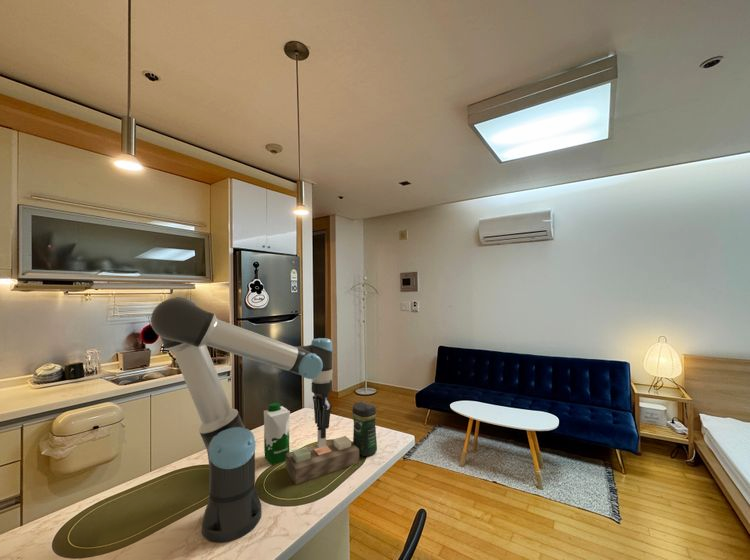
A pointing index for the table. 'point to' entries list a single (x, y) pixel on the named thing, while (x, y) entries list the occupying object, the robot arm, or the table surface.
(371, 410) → the coffee jar
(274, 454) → the milk carton
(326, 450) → the terracotta button
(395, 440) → the table surface
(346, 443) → the cream button
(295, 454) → the sage button
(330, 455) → the button console
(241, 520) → the robot arm
